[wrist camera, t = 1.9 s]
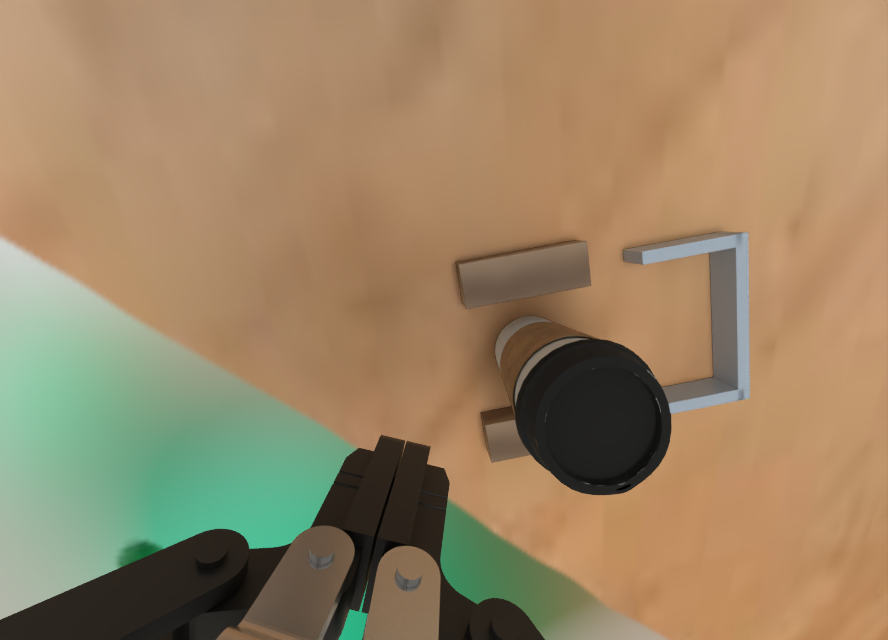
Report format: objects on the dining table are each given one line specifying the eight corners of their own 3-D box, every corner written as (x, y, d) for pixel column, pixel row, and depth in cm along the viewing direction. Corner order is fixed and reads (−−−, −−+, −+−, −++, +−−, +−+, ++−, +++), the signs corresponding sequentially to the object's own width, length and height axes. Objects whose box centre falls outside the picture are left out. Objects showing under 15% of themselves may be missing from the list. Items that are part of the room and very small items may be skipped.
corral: (623, 249, 35) (642, 251, 32) (720, 231, 36) (748, 232, 33) (634, 403, 38) (652, 417, 35) (724, 385, 39) (749, 398, 36)
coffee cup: (497, 407, 37) (553, 523, 23) (466, 321, 36) (505, 386, 21) (586, 375, 37) (699, 470, 23) (560, 286, 36) (664, 328, 21)
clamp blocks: (455, 261, 34) (458, 264, 32) (574, 240, 35) (586, 241, 32) (486, 447, 38) (491, 462, 36) (593, 426, 39) (605, 439, 36)
